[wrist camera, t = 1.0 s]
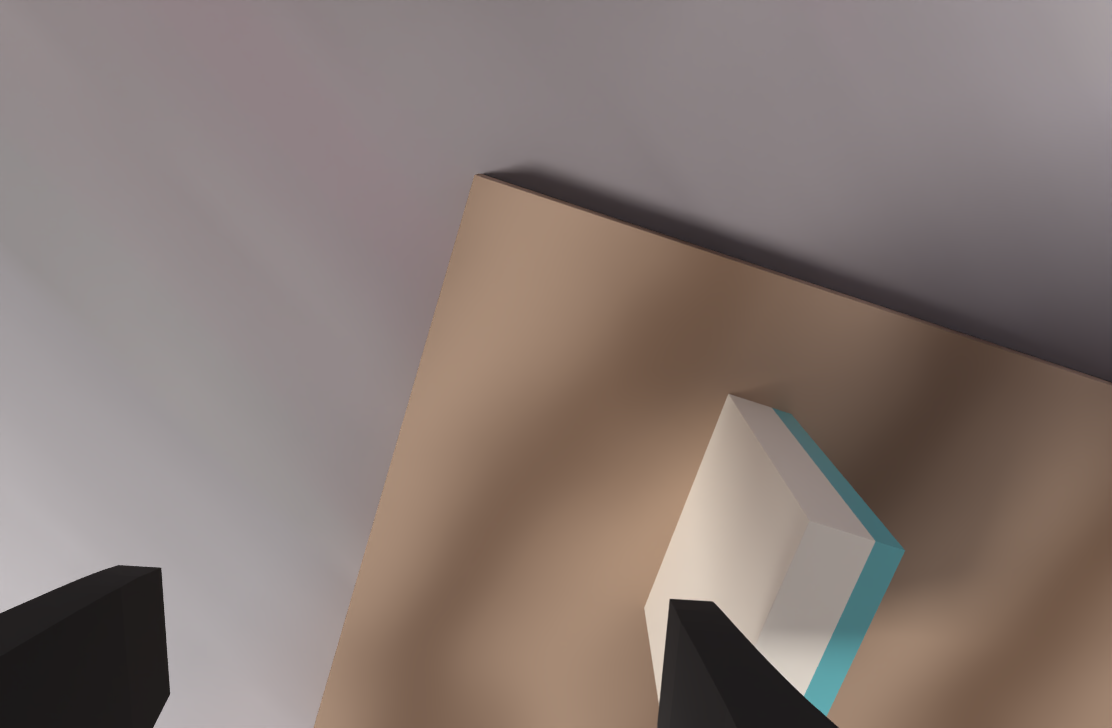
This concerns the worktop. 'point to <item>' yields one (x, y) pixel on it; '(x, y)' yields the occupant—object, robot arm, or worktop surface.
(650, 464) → the board
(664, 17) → the worktop surface
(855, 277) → the worktop surface
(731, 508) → the tile
